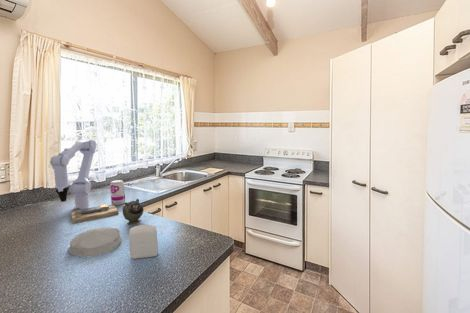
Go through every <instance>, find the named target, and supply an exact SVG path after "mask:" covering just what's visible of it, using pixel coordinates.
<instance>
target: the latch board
mask: <svg viewBox="0 0 470 313" xmlns="http://www.w3.org/2000/svg"><path fill="white" fill-rule="evenodd" d="M107 205H108V206H109V209H104V210H98V211H93V212H87V213H82V214H81V210H80V207H77V208H74V211H72V212H70V213H71V220H72V224H77V223H80V222H85V221H90V220H96V219H100V218H101V219H102V218H106V217H112V216H116V215H119V210H118V208H117V207H116V205H113V204H107ZM77 209H79V210H80V211H76V210H77Z"/></svg>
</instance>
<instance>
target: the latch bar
mask: <svg viewBox="0 0 470 313" xmlns="http://www.w3.org/2000/svg"><path fill="white" fill-rule="evenodd" d="M108 205H109V204H105V203H104V204H101V205H98V206H92V207H91V206H90V208H86V209H80V210H81V214H82V213H87V212H93V211H98V210H104V209H109V206H108ZM80 210H79V209H77V210H76V211H80Z"/></svg>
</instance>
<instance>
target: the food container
mask: <svg viewBox="0 0 470 313" xmlns="http://www.w3.org/2000/svg"><path fill="white" fill-rule="evenodd" d="M122 240H123V238H122V237H121V233H120V229H118V228H117V227H109V226H108V227H97V228H93V229H87V230H86V231H83V232H81V233H80V234H77V235H75V236H74V237H73V238H72V239H71V241H70V243H69V247H68V249H67V250H68V252H69V253H70V254H71V255H72V256H73V257H74V256H76V257H78V256H79V257H84V256H85V257H84V258H88V256H94V257H97V255H98V256H100V255H99V254H101V255H104V254H107V253H109V252H111V251H112V252H113V251H114V250H115V249H117V248H118V247H119V246H120V244H121V242H122Z"/></svg>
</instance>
